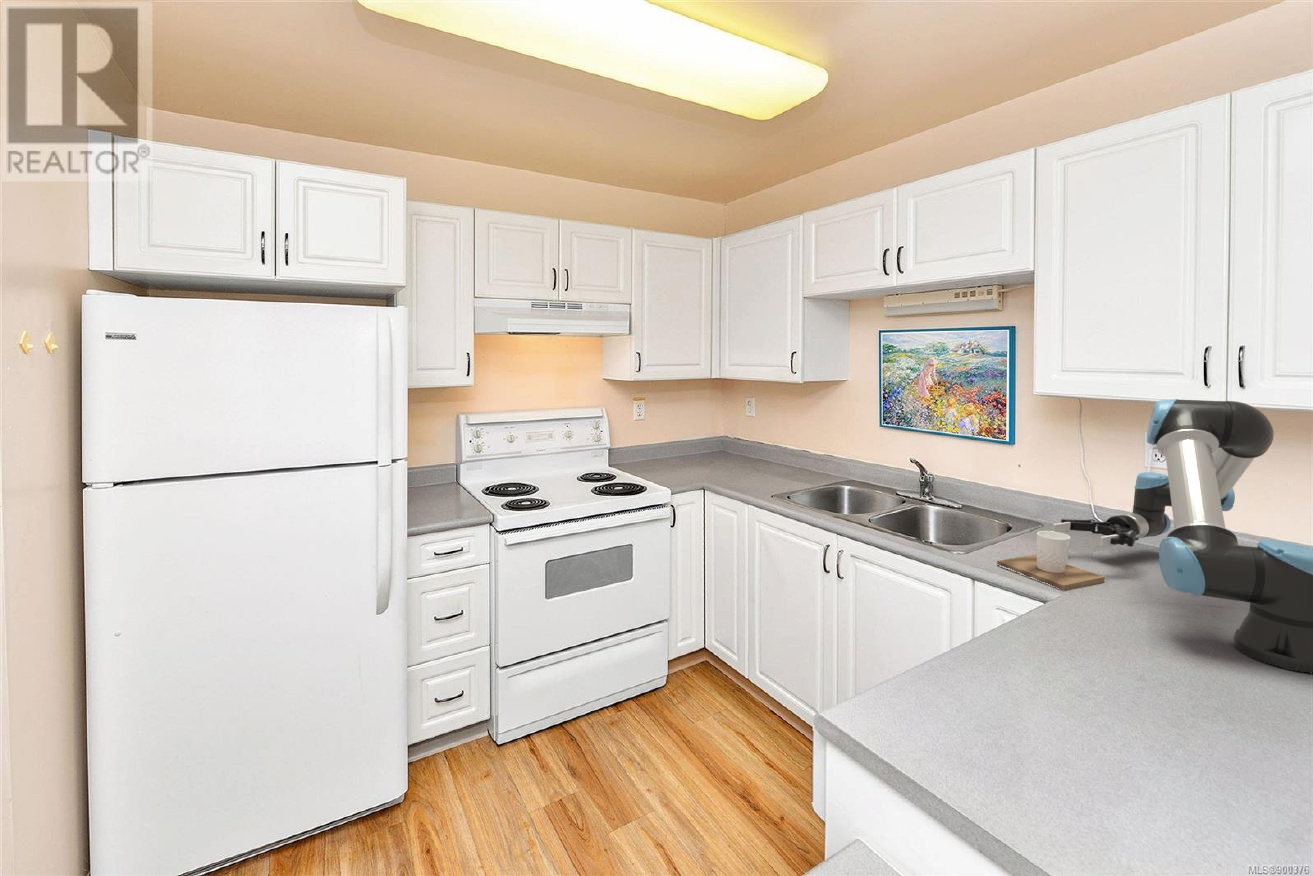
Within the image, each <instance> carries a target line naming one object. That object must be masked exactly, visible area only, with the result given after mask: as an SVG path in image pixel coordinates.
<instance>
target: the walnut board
mask: <svg viewBox="0 0 1313 876" xmlns="http://www.w3.org/2000/svg"><path fill="white" fill-rule="evenodd" d="M997 564H999V565H1001V566H1004V567H1006V568H1010V569H1012V570H1014V571H1016V572H1020V573H1022V574H1024V575H1026V576H1028V577H1033V578H1035V579H1037V580H1039V581H1041V582H1045V583H1048V584H1050V585H1052V586H1055V587H1057V588H1059V589H1061V590H1060V591H1062V590H1065V591H1069V590H1075V589H1079V588H1083V587H1088V586H1093V585H1099V584H1102V583H1105V581H1106V580H1105V579H1106V577H1105V576H1103V575H1100V574H1097V573H1094V572H1091V571H1088V570H1085V569H1082V568H1079V567H1076V566H1074V565H1073V566H1072V565H1070V564H1067V563H1066V566H1065V572H1063V573H1051V572H1046V571H1043V570H1040V569H1038V568H1037V553H1035V554H1030V555H1023V556H1017V557H1013V558H1007V559H1001V560H997V561H996V565H997ZM1028 577H1027V578H1028ZM1041 582H1040V583H1041ZM1052 586H1051V587H1052ZM1057 588H1056V589H1057ZM1059 589H1058V590H1059Z"/></svg>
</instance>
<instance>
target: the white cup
mask: <svg viewBox="0 0 1313 876" xmlns="http://www.w3.org/2000/svg"><path fill="white" fill-rule="evenodd" d="M1070 544H1071V536H1070V535H1068V534H1066V533H1064V532H1062V533H1059V532H1054V531H1052V530H1040V531H1037V532H1036V554H1037V568H1038V569H1040V570H1043V571H1046V572H1051V573H1063V572H1065V566H1066V564H1067V562H1068V558H1069V557H1068V556H1069V550H1070Z"/></svg>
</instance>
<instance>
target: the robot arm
mask: <svg viewBox="0 0 1313 876" xmlns="http://www.w3.org/2000/svg"><path fill="white" fill-rule="evenodd" d="M1274 434H1275V431H1274V427H1273V425H1272V422H1271V421H1270V419H1268V417H1267V416H1266V415H1265V414H1264V413H1263V412H1262V411H1260V410H1259V409H1258V408H1257V407H1255V406H1252V405H1251V404H1248V403H1244V402H1240V401H1234V400H1202V399H1201V400H1200V399H1199V400H1198V399H1178V398H1174V399H1161V400H1158V401H1156V402H1155V403H1154V405H1153V408H1152V409H1151V413H1150V418H1149V421H1148V426H1147V433H1146V442H1147V444H1150V445H1153V446H1156V450H1157V452H1158V453H1159V454H1160V455H1161V456H1163V457H1165V459H1166V470H1167V474H1165V473H1159V472H1158V473H1157V472H1147V471H1146V472H1145V471H1143V472H1140V473H1138V474H1137V475H1136V481H1135V485H1134V495H1133V497H1134V498H1133V505H1132V513H1125V514H1120V515H1114V516H1113V515H1112V516H1111V517H1109V518H1107V519H1106V520H1105V521H1096V520H1095V519H1064V518H1062V519H1060V522H1058V523H1052V530H1051V531H1054V532H1059V533H1069V532H1070V531H1075V532H1076V531H1078V532H1088V533H1089V532H1090V533H1092V534H1095V535H1102V536H1100V537H1099V544H1098V545H1099V547H1100V548H1104V547H1112V546H1116V545H1117V546H1118V545H1120V546H1124V545H1126V546H1128V547H1130V548H1132V547H1133V546H1134V544H1135V542H1137V541H1139V539H1142V538H1149V537H1152V538H1153V537H1157V536H1161V535H1163V534H1165V533H1167V532H1168V534H1167V536H1166V537H1163V539H1161V541H1160V543H1159V547H1158V557H1159V560H1158V561H1159V563H1158V564H1159V568H1160V569H1159V570H1160V572H1161V573H1160V574H1161V577H1162V578H1163V580H1164V583H1166V585H1167V586H1168V588H1171V589H1172V590H1173V591H1176V592H1179V593H1185V594H1190V595H1192V596H1199V597H1200V596H1203V597H1209V598H1216V599H1217V598H1218V599H1223V600H1230V601H1237V602H1244V603H1250V604H1249V610H1248V613H1247V614H1246V616H1245V617H1244V619H1243V621H1242V622H1241V624H1240V626H1239V627H1238V628H1237V629H1236V631H1234V634H1233V641H1232V644H1233V647H1235V649H1236V650H1238V651H1239V652H1241V653H1242V654H1244V655H1246V656H1248V657H1250V658H1252V659H1254V660H1257V661H1259V662H1262V663H1265V664H1268V665H1271V664H1272V665H1271V666H1274V665H1276V666H1275V667H1277V666H1280V667H1279V668H1281V667H1282V669H1285V668H1289V669H1292V670H1291V671H1293V670H1296V671H1295V672H1298V671H1300V672H1299V673H1304V672H1309V673H1308V674H1312V673H1311V672H1313V548H1310V547H1308V546H1307V547H1306V546H1303V545H1299V544H1295V543H1291V542H1287V541H1282V540H1281V541H1280V540H1273V539H1261V540H1260V541H1259V542H1258V543H1257V546H1250V545H1249V546H1247V545H1240V544H1239V543H1238V538H1237V535H1236V534H1235V532H1233V531H1232V530H1231V529H1228V528H1227V527H1226V524H1225V518H1224V512H1228V511H1229V512H1230V511H1231V510H1232V509H1233V508H1234V504H1235V500H1236V496H1235V495H1236V494H1235V490H1234V488H1233V487H1234V486H1235V485H1236V484H1237V483H1238V482H1239V480H1240V478H1241V477H1242V476H1243V475H1244V473H1245V472H1246V471H1247V469H1248V468H1249V466H1251V463H1252V462H1253V461H1254V460H1255V459H1256V458H1259V457H1262V456H1263V455H1264V454H1265V453H1267V451H1268V450H1269V448H1270V447H1271V445H1272V443H1273V441H1274V437H1275V435H1274ZM1166 507H1171V509H1172V511H1171V512H1172V518H1173V519H1172V520H1173V526H1174V528H1172V530H1170V528H1171V526H1172V525H1171V524H1172V523H1171V520H1170V517H1169V515H1168V514H1166V513H1165V511H1166ZM1096 529H1097V530H1096ZM1169 530H1170V531H1169ZM1289 669H1288V670H1289Z"/></svg>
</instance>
